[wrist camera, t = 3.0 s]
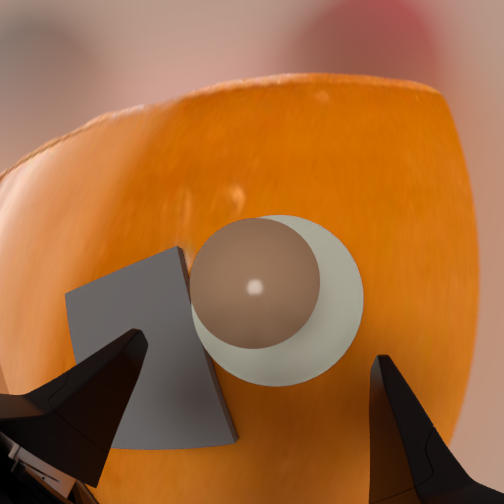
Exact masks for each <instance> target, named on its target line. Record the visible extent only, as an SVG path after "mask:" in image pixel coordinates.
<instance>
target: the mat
mask: <svg viewBox="0 0 504 504" xmlns="http://www.w3.org/2000/svg"><path fill="white" fill-rule="evenodd" d="M65 300H66V308H67V316H68V323H69V329H70V335H71V341H72V346H73V351H74V356H75V361H76V365H77V364H78V363H80V362H82V361H83V360H85V359H86V358H88V357H89V356H91V355H92V354H94V353H95V352H97V351H98V350H100V349H101V348H103V347H104V346H106V345H107V344H109V343H110V342H112V341H113V340H115V339H117V338H118V337H120V336H121V335H123V334H124V333H126V332H127V331H129V330H130V329H132V328H136V329H140V330H142V331H143V333H144V335H145V337H146V339H147V341H148V350H147V353H146V356H145V359H144V362H143V366H142V369H141V372H140V375H139V378H138V381H137V383H136V385H135V388H134V390H133V392H132V395H131V397H130V400H129V402H128V405H127V407H126V409H125V412H124V414H123V417H122V419H121V422H120V425H119V427H118V430H117V432H116V435H115V437H114V440H113V443H112V445H111V448H119V449H142V450H164V449H188V448H201V447H211V446H220V445H228V444H235V443H236V441H237V440H238V437H237V434H236V431H235V429H234V426H233V423H232V420H231V418H230V415H229V412H228V409H227V406H226V403H225V401H224V398H223V395H222V392H221V389H220V386H219V383H218V379H217V376H216V373H215V370H214V367H213V364H212V360H211V357H210V354H209V353H208V352H207V350H206V349H205V348H204V346H203V344H202V342H201V340H200V338H199V336H198V334H197V331H196V328H195V325H194V321H193V316H192V307H191V303H192V301H191V296H190V281H189V277H188V273H187V268H186V264H185V260H184V255H183V251H182V249H181V248H179V247H178V246H176V247H173V248H171V249H168V250H166V251H163V252H161V253H158V254H156V255H153V256H151V257H149V258H146V259H144V260H141V261H139V262H137V263H134V264H132V265H129V266H127V267H125V268H122V269H120V270H118V271H115V272H113V273H111V274H108V275H106V276H104V277H101V278H99V279H97V280H95V281H92V282H90V283H88V284H86V285H83V286H81V287H79V288H77V289H74V290H72V291H70V292H68V293H66V294H65Z"/></svg>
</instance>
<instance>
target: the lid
mask: <svg viewBox="0 0 504 504" xmlns="http://www.w3.org/2000/svg"><path fill="white" fill-rule="evenodd" d="M190 296H191V301H192V303H191V307H192V316H193V321H194V325H195V328H196V331H197V334H198V336H199V338H200V340H201V342H202V344H203V346H204V348H205V349H206V350H207V352H208V353H209V354H210V356H211V357H212V358H213V359H214V360H215V361H216V362H217V363H218V364H219V365H220V366H221V367H222V368H224V369H225V370H226V371H228V372H229V373H231V374H232V375H234V376H236V377H238V378H240V379H242V380H245V381H247V382H250V383H254V384H257V385H263V386H289V385H295V384H298V383H302V382H305V381H308V380H310V379H312V378H315V377H317V376H318V375H320V374H322V373H323V372H325V371H326V370H328V369H329V368H330V367H331V366H333V365H334V364H335V363H336V362H337V361H338V360H339V359H340V358H341V357H342V356H343V355H344V353H345V352H346V351H347V349H348V348H349V346H350V345H351V343H352V341H353V339H354V337H355V336H356V333H357V331H358V328H359V325H360V322H361V317H362V312H363V301H364V298H363V286H362V281H361V277H360V274H359V271H358V268H357V265H356V263H355V262H354V260H353V258H352V256H351V254H350V253H349V251H348V250H347V249H346V247H345V246H344V245H343V244H342V243H341V242H340V240H339V239H338V238H337V237H335V236H334V235H333V234H332V233H331V232H329V231H328V230H326V229H325V228H323V227H322V226H320V225H318V224H316V223H314V222H311V221H309V220H306V219H303V218H299V217H294V216H288V215H271V216H264V217H259V218H249V219H243V220H239V221H236V222H233V223H230V224H228V225H226V226H224V227H223V228H221V229H220V230H218V231H217V232H215V233H214V234H213V235H212V236H211V237H210V238H209V239H208V240H207V241H206V242H205V243H204V245H203V246H202V247H201V249H200V250H199V252H198V254H197V256H196V258H195V260H194V263H193V266H192V270H191V275H190Z"/></svg>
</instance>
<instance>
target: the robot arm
mask: <svg viewBox="0 0 504 504" xmlns="http://www.w3.org/2000/svg"><path fill="white" fill-rule="evenodd" d="M147 350H148V341H147V339H146V337H145V335H144V333H143V331H142V330H140V329H136V328H132V329H130V330H129V331H127V332H126V333H124V334H123V335H121V336H120V337H118V338H117V339H115V340H113V341H112V342H110V343H109V344H107V345H106V346H104V347H103V348H101V349H100V350H98V351H97V352H95V353H94V354H92V355H91V356H89V357H88V358H86V359H85V360H83V361H82V362H80V363H78V364H77V365H75V366H74V367H72V368H71V369H70V370H68V371H66V372H65V373H63V374H62V375H60V376H58V377H57V378H55V379H53V380H52V381H50V382H48V383H46V384H44V385H43V386H41V387H39V388H37V389H35V390H33V391H31V392H29V393H27V394H23V395H10V394H0V504H83V501H82V499H81V496H80V493H79V490H78V487H77V484H76V483H75V481H76V479H77V480H79V481H81V482H83V483H85V484H87V485H90V486H92V487H94V488H96V487H97V485H98V482H99V479H100V476H101V473H102V471H103V468H104V465H105V462H106V459H107V457H108V453H109V451H110V448H111V445H112V443H113V440H114V437H115V435H116V432H117V430H118V427H119V425H120V422H121V419H122V417H123V414H124V412H125V409H126V407H127V405H128V402H129V400H130V397H131V395H132V392H133V390H134V388H135V385H136V383H137V381H138V378H139V375H140V372H141V369H142V366H143V362H144V359H145V356H146V353H147ZM369 425H370V489H369V504H504V493H501V492H499V491H496V490H494V489H491V488H489V487H486V486H484V485H482V484H479V483H478V482H476V481H474V480H473V479H472V478H471V477H470V476H469V475H468V474H467V473H466V472H465V470H464V469H463V468H462V466H461V465H460V464H459V462H458V461H457V460H456V458H455V457H454V456H453V454H452V453H451V452H450V450H449V449H448V447H447V446H446V444H445V443H444V441H443V440H442V438H441V437H440V435H439V433H438V432H437V430H436V428H435V427H433V426H434V425H433V423H432V422H431V420H430V419H429V417H428V415H427V414H426V412H425V410H424V409H423V407H422V406H421V404H420V402H419V401H418V399H417V398H416V396H415V394H414V393H413V391H412V390H411V388H410V387H409V385H408V384H407V382H406V381H405V379H404V378H403V376H402V375H401V373H400V371H399V370H398V368H397V367H396V366H395V364H394V363H393V361H392V360H391V358H390V357H389V356H388V355H377V356H376V358H375V361H374V363H373V365H372V368H371V373H370V398H369Z"/></svg>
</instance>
